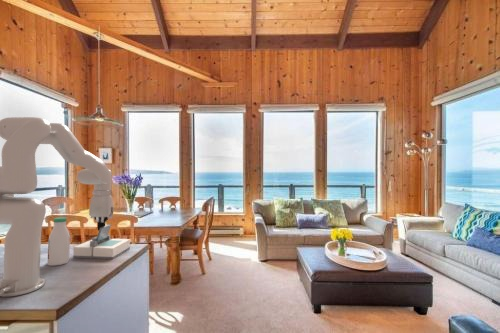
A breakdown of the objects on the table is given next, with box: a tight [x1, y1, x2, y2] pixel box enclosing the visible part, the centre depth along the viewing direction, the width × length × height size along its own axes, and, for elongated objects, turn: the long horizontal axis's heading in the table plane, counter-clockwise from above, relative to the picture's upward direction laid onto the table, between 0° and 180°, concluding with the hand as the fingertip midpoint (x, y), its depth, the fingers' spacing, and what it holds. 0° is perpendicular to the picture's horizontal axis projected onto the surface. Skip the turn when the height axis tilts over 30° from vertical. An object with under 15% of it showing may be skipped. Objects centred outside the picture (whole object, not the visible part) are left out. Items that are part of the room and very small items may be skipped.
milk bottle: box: [47, 216, 71, 267], centre depth 113 cm, size 8×8×20 cm
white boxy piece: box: [72, 234, 131, 260], centre depth 127 cm, size 16×19×8 cm
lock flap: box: [96, 224, 112, 244], centre depth 127 cm, size 9×9×2 cm
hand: (101, 230), depth 128 cm, fingers closed
